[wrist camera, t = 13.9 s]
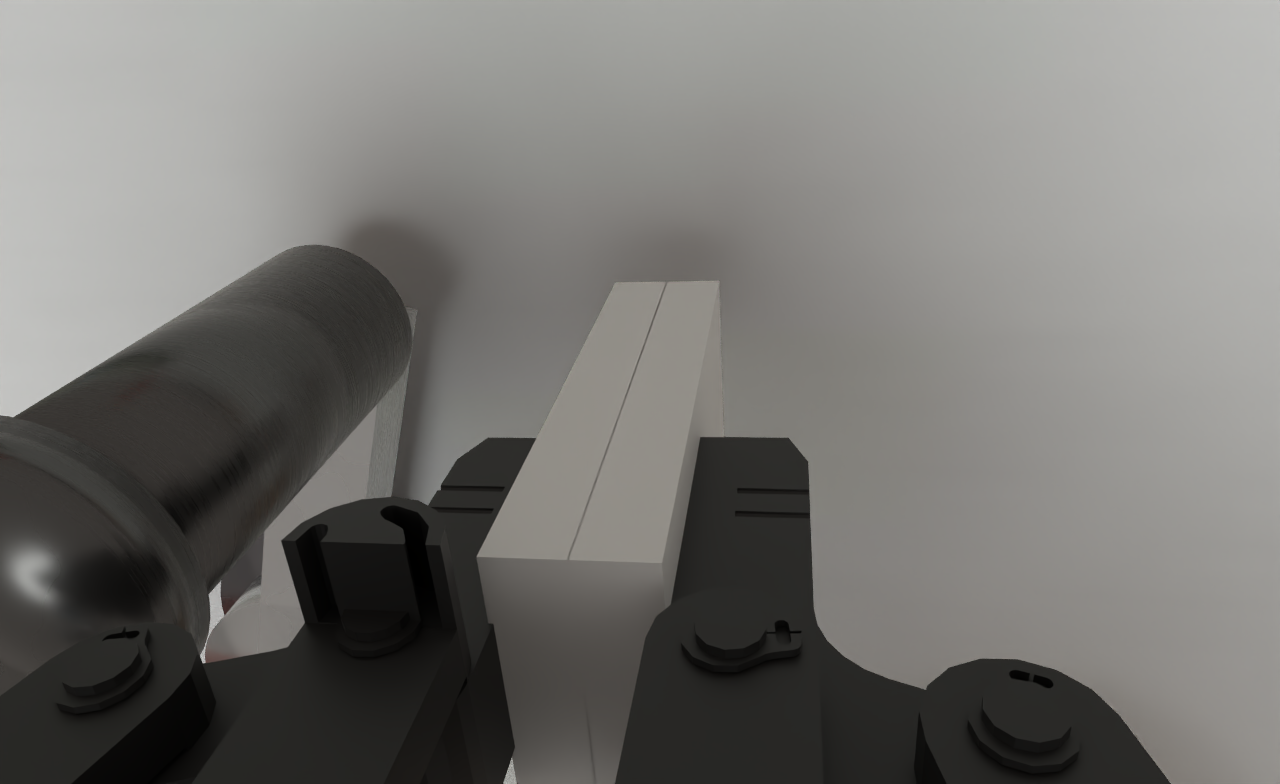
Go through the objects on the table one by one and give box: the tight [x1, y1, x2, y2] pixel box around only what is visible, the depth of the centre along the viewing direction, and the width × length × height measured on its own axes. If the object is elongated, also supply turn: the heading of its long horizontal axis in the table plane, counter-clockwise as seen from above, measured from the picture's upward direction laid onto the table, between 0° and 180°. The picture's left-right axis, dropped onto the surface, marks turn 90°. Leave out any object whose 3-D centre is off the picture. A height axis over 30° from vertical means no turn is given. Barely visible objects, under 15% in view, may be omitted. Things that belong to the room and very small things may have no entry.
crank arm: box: [0, 245, 417, 696], centre depth 16 cm, size 13×4×9 cm, turn 166°
